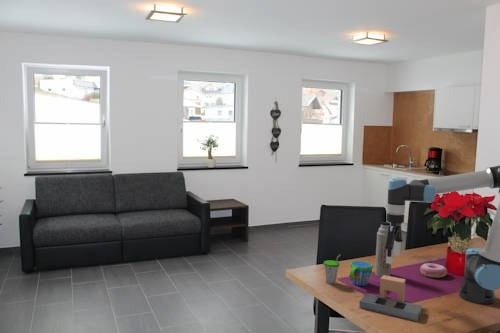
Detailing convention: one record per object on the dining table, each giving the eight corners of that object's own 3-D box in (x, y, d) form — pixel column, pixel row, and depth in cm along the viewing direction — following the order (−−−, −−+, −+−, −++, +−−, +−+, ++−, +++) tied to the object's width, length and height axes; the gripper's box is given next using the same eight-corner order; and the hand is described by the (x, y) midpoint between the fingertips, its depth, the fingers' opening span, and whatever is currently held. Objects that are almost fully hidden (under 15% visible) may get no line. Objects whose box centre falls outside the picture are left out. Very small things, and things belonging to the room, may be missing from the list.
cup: (319, 282, 224) (320, 253, 222) (328, 278, 229) (330, 250, 228) (332, 286, 218) (333, 256, 217) (341, 282, 224) (343, 253, 222)
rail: (421, 312, 191) (422, 305, 191) (417, 321, 183) (417, 314, 182) (365, 299, 203) (366, 293, 203) (359, 307, 195) (359, 301, 194)
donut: (445, 272, 243) (445, 263, 243) (448, 280, 231) (449, 271, 230) (418, 269, 247) (419, 260, 247) (420, 277, 235) (421, 268, 234)
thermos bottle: (391, 277, 233) (394, 224, 230) (375, 276, 235) (378, 223, 231) (390, 272, 240) (393, 221, 237) (374, 271, 242) (377, 220, 239)
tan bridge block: (404, 300, 204) (405, 279, 203) (401, 304, 199) (403, 282, 198) (382, 295, 209) (383, 274, 208) (379, 299, 204) (380, 278, 203)
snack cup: (363, 277, 232) (364, 258, 231) (379, 284, 223) (380, 264, 222) (341, 283, 223) (342, 263, 222) (357, 290, 215) (358, 269, 214)
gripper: (393, 207, 213) (391, 251, 215) (379, 217, 192) (377, 265, 194) (410, 209, 209) (407, 253, 211) (397, 219, 188) (394, 268, 190)
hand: (393, 259), depth 203 cm, fingers open, 13 cm apart
